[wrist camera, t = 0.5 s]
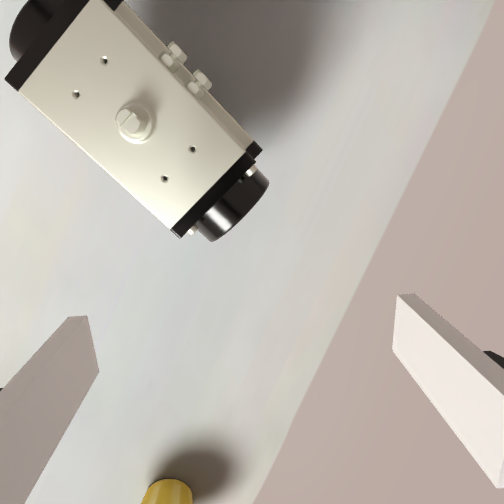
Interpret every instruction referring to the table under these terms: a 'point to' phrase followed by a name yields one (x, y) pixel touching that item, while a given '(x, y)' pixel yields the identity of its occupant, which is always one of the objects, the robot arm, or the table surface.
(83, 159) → the table surface
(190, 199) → the ball valve
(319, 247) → the table surface
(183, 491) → the plant pot
